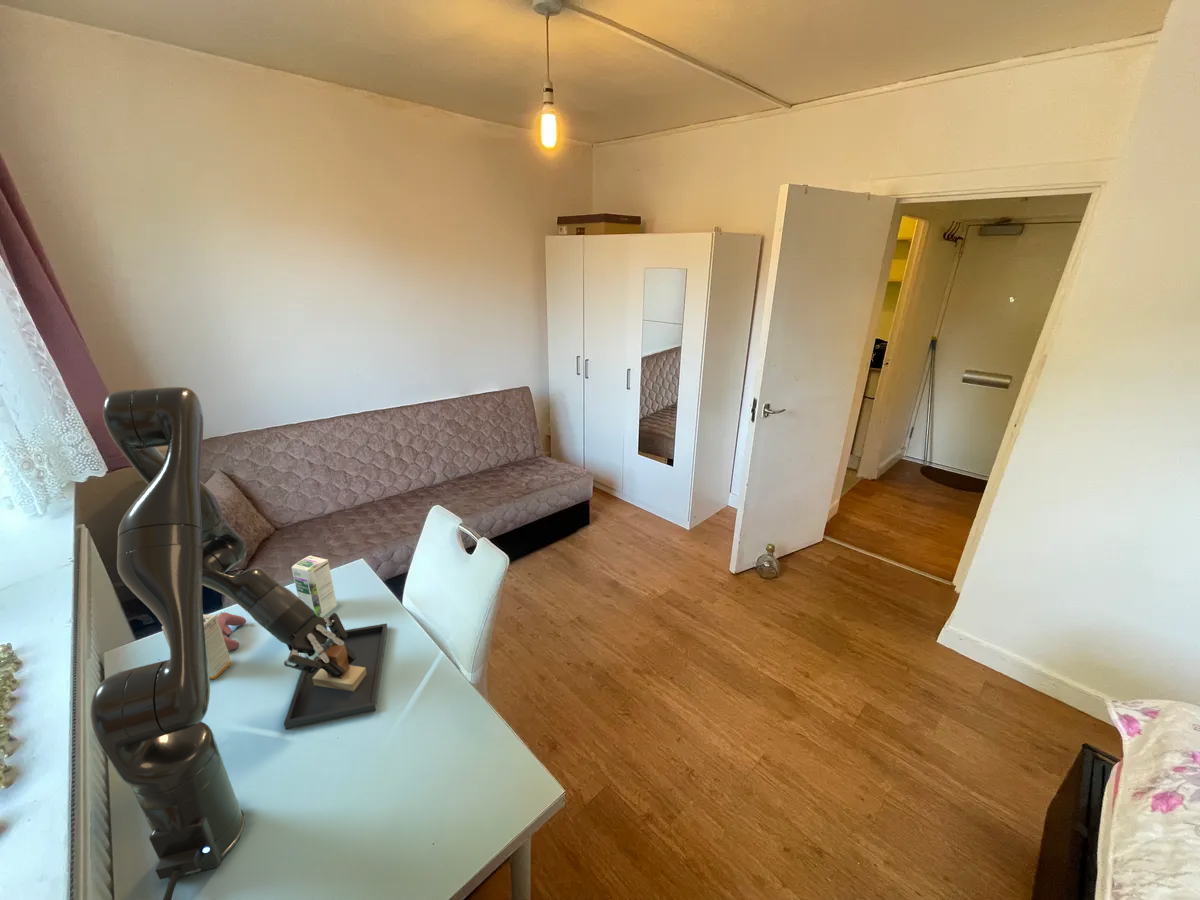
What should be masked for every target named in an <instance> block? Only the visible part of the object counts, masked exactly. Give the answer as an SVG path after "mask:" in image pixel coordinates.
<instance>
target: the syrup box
mask: <svg viewBox="0 0 1200 900" xmlns="http://www.w3.org/2000/svg"><path fill="white" fill-rule="evenodd" d="M291 572H292V576H293V580H294V586H295V588H296V594H297V597H298V598H299V599H301V600H302V601H303V602H304V603H305V604H306V605H308V606H309V607H310V608H311V609H312V610H314V612H315V614H316V615H317V616H319V617H322V618H325V616H326V615H327V614H329V613H330V612H332V610H334V609H335V608H336V607H338V605H337V600H336V595H335V589H334V584H333V579H332V574H331V569H330V563H329V559H328V558H323V557H319V556H315V555H308V556H306V557H304V558H302V559H301V560H299V561H297V562H296V563H294V564H293V565H292V566H291Z"/></svg>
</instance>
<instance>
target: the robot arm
mask: <svg viewBox="0 0 1200 900" xmlns="http://www.w3.org/2000/svg"><path fill="white" fill-rule="evenodd" d="M102 418H103V422H104V425H105V427H106V431H107V432H108V434H109V436H110V438H111V439H112V441H113V443H114V444H115V445H116V446H117V448H118V449H119V451H121V453H122V454H123V455H124V457H125V458H126V459H127V461H128V462H129V463H130V464H131V466H132V467H133V468H134V469H135V471H136V472H137V473H138V474H139V476H140V477H141V478H142V480H143V481H144V482H145V483H146V484H147V486H146V487H145V488H144V489H143V490H142V492H141V493H140V494H139V496H138V497H137V498H136V499H135V500H134V501H133V503H132V504H131V505H130V506H129V508H127V511H126V512H125V513H124V515H123V517H122V518H121V521H120V523H119V525H118V529H117V550H116V551H117V552H116V569H117V573H118V575H119V577H120V579H121V580H122V582H123V583H124V584H125V586H126V587H127V588H128V589H129V590H130V591H131V592H132V593H133V594H134V595H135V597H136V598H137V599H139V600H140V601H141V602H142V603H143V605H145V606H146V607H147V608H148V609H149V610H150V611H151V612H152V614H153V615H154V616H155V617H156V618H157V620H158V621H159V622H160V624H161V626H163V627H164V629H165V631H166V634H167V637H168V641H169V645H168V647H169V646H170V648H169V655H170V656H169V659H166V660H162V661H158V662H153V663H150V664H146V665H141V666H138V667H134V668H130V669H126V670H122V671H119V672H115V673H113V674H111V675H109V676H107V677H105V678H104V679H103V681H101V682H100V683H99V684H98V686H97V687H96V689H95V691H94V693H93V695H92V699H91V703H90V710H89V711H90V723H91V728H92V730H93V734H94V735H95V738H96V740H97V742H98V745H100V747H101V749H102V751H103V752H104V754H105V755H106V757H107V758H108V760H109V762H110V763H111V765H112V766H113V768H114V770H115V772H116V773H117V775H118V777H119V778H120V779H121V781H122V782H123V783H125V784H126V785H129V786H130V788H131V790H132V792H133V794H134V796H135V798H136V800H137V803H138V805H139V807H140V809H141V811H142V813H143V815H144V818H145V819H146V822H147V824H148V826H149V829H150V830H151V833H150V835H149V837H148V840H149V841H150V844H151V846H152V848H153V850H154V852H155V855H156V856H157V858H158V860H159V861H158V863H157V866H156V868H155V870H154V872H155V873H156V876H157V877H158V879H159V880H160V881H161V880H164V879H168V880H169V881H168V883H167V886H166V889H165V892H164V894H163V895H164V896H163V899H162V900H172V897H173V894H174V891H175V888H176V885H177V882H178V879H179V878H181V877H186V876H189V875H195V874H197V873H200V872H203V871H207V870H211V869H215V868H218V867H219V866H220V865H221V863H222V861H223V858H224V857H225V856H226V855H227V854H228V853H229V852H230V851H231V850H232V849H233V847H235V845H236V844H237V842H238V841H239V839H240V837H241V836H242V834H243V831H244V828H245V821H246V820H245V819H246V818H245V814H244V813H243V810H242V808H241V806H240V804H239V801H238V798H237V796H236V793H235V790H234V788H233V786H232V782H231V779H230V777H229V774H228V772H227V769H226V765H225V764H224V761H223V758H222V755H221V753H220V750H219V747H218V744H217V742H216V738H215V734H214V733H213V731H212V729H211V727H210V726H209V725H208V724H207V723H206V722H203V720H204V718H205V716H206V715H207V712H208V709H209V705H210V697H211V679H210V677H209V666H208V657H207V648H206V638H205V629H204V619H203V614H204V611H203V610H204V608H203V586H204V587H206V588H208V589H211V590H213V591H216V592H218V593H219V594H221V595H224V596H226V597H227V598H228V599H231V600H232V601H233V602H235V604H237V605H238V606H240V607H241V608H242V609H243V610H245V612H247V614H248V615H250V616H251V618H252V619H253V620H254V621H255V622H256V623H257V624H259V625H260V626H261V627H262V628H263V629H265V630H266V631H267V633H268V632H269V634H271V635H272V636H273V637H274V638H276V639H277V640H278V641H279V642H280V643H283V644H285V645H286V646H287V648H288V650H289V651H290V652H289V655H288V657H287V659H286V660H285V661H284V662H283V665H284V666H285V667H287V668H292V669H295V670H299V671H301V672H302V671H306V672H309V673H314V672H315V671H317V670H318V669H324V670H325V671H326V672H327V673H328V674H330V675H331V676H332V677H334V678H335V677H337V678H339V677H340V676H342V675H343V674H344V672H345V670H344V669H343V668H341V667H340V666H339V665H338V664H336V663H335V662H334V661H333V660H331V661H330V658H329V657H328V656H327V655H326V654H325V652H324V649H323V647H328V648H329V647H330V646H331V645H332V644H334V645H341V646H345V644H344V641H345V638H346V637H347V633H346V631H345V630H346V629H345V627H344V625H343V623H342V621H341V619H340V617H339V615H338V614H337V612H333V613H331V614H330V615H329V616H326V617H323V618H322V617H319V616H317V615H316V614H315V612H314V610H312V609H311V608H310V607H309V606H308V605H306V604H305V603H304V602H303V601H302V600H301V599H299V598H298V595H296V594H295V593H294V592H293V591H291V590H290V589H288V588H287V587H286V586H284V585H283V584H281V583H280V582H279V581H278V580H276V579H275V577H273V576H271V575H270V574H269V573H268V572H267V571H266V570H264V569H263V568H261V567H258V566H257V567H252V568H249V569H247V570H246V571H243V572H242V573H239V574H236V575H235V574H229V573H226V572H227V571H230V570H231V569H232V568H233V567H235V566H236V565H238V564H239V563H240V562H242V561H243V560H244V559H245V558H246V556H247V554H248V543H247V542H246V540H245V539H244V538H243V537H242V536H241V535H240V534H239V533H238V532H236V531H235V529H234V528H233V527H232V526H231V525H230V524H229V523H228V521H227V520H226V518H225V517H224V514H223V513H222V510H221V508H220V505H219V503H218V500H217V498H216V496H215V494H214V493H213V492H212V491H211V489H210V488H209V487H208V486H207V484H205V483H203V482H202V481H201V465H202V453H203V440H204V413H203V407H202V403H201V400H200V398H199V396H198V395H197V393H196V392H195V391H194V390H193V389H191V388H188V387H185V386H167V387H165V386H164V387H154V388H153V387H152V388H151V387H150V388H140V389H137V388H136V389H126V390H124V389H123V390H118V391H117V390H116V391H114V392H111V393H109V394H108V395H107V396H106V398H105V399H104V402H103V406H102ZM166 446H167V448H166V449H167V450H166V453H165V456H164V455H163V454H162V453H161V452H160V451H159V448H157V447H166ZM328 628H329V629H328ZM321 645H322V646H323V647H322V646H321ZM346 651H347V656H348V661H349V664H351V663H352V662H353V661H354V660H355V659H356V657H355V654H354V652H352V651H351V650H350V649H349V648H348V647H347V646H346ZM314 652H315V653H314ZM302 654H304V655H305V656H306V657H308V658H309V659H308V658H306V657H305V656H302Z"/></svg>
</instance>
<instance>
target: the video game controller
mask: <svg viewBox="0 0 1200 900" xmlns="http://www.w3.org/2000/svg"><path fill="white" fill-rule="evenodd" d="M215 615H216V617H217V620H218V623H219V626H220V629H221V632H222V635H223V638H224V641H225V644H226V647H227V650H228V651H231V650H236V649H238V648H239V647H240V643H239V641H237V640H236V639H233V638H228V636H229V635H230V634H231V633H232V629H231V627H230V626H232V627H234V626H235V627H237V626H244V625H246V623H247V619H246V618H245V617H244V616H241V615H238V614H237V615H236V614H232V613H230V612H229V613H228V612H220V613H217V614H215Z"/></svg>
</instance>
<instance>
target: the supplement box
mask: <svg viewBox="0 0 1200 900" xmlns="http://www.w3.org/2000/svg"><path fill="white" fill-rule="evenodd" d="M216 615H217V614H204V613H203V619H204V629H205V638H206V648H207V657H208V666H209V677H210V680H216V679H217V678H218V677H219V676H221V674H222V673H223V672H224V671H225V670H227V668H229V667H230V666H231V665H232V664H233V662H232V659H231V656H230V653H229V650H227V647H226V644H225V641H224V638H223V635H222V632H221V629H220V626H219V623H218V620H217V617H216ZM161 630H162V633H163V635H164V637H165V639H166V642H167V646H168V648H169V649H170V646H169V641H168V637H167V634H166V631H165V629H164V627H163V625H161Z"/></svg>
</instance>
